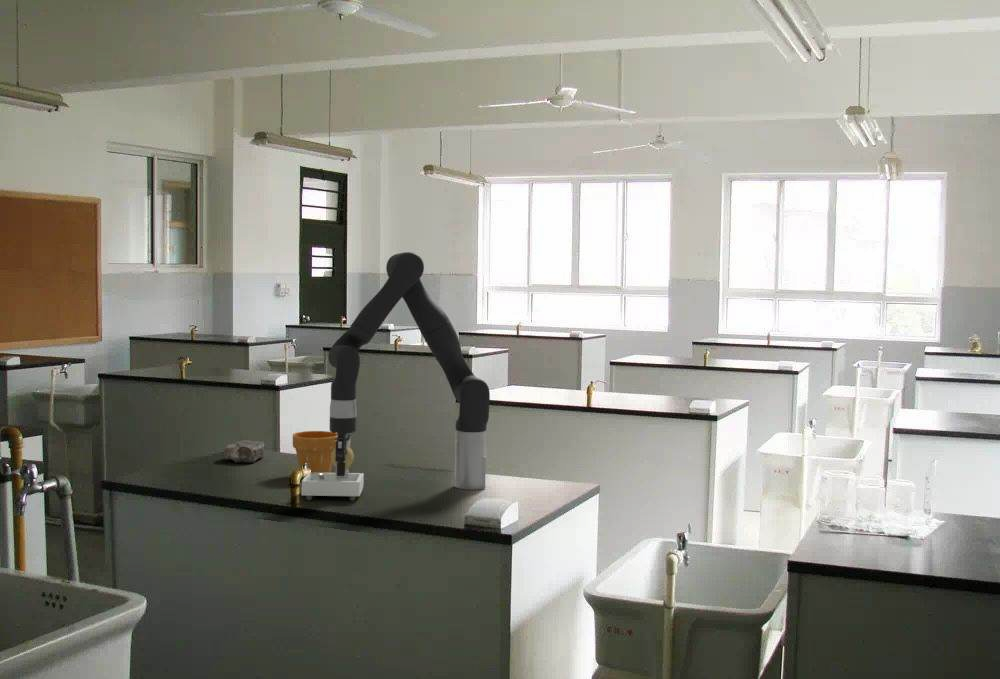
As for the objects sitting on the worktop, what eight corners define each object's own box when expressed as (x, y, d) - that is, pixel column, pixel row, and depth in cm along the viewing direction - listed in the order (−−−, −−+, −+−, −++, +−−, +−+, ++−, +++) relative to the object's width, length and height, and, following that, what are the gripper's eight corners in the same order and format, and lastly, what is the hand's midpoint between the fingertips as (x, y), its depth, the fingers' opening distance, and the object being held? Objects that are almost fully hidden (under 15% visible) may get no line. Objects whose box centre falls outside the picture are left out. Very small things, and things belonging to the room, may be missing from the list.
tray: (363, 492, 291) (363, 473, 291) (359, 501, 279) (359, 482, 279) (308, 491, 290) (308, 472, 290) (301, 500, 278) (301, 481, 278)
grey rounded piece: (325, 485, 286) (325, 472, 286) (323, 489, 282) (323, 475, 282) (311, 485, 286) (311, 471, 286) (309, 488, 282) (309, 474, 282)
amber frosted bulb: (348, 483, 281) (349, 448, 280) (327, 482, 282) (327, 447, 281) (356, 479, 287) (357, 444, 286) (335, 477, 288) (335, 443, 288)
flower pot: (310, 469, 322) (311, 429, 321) (347, 474, 315) (347, 433, 315) (282, 477, 309) (283, 435, 308) (320, 482, 303) (320, 439, 302)
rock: (239, 455, 344) (216, 464, 329) (239, 437, 343) (216, 445, 329) (273, 457, 341) (251, 466, 326) (272, 438, 340) (250, 446, 326)
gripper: (353, 419, 276) (352, 479, 277) (359, 411, 291) (358, 468, 292) (326, 418, 276) (325, 478, 277) (333, 411, 290) (332, 468, 291)
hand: (342, 473), depth 284 cm, fingers closed on amber frosted bulb, 6 cm apart
